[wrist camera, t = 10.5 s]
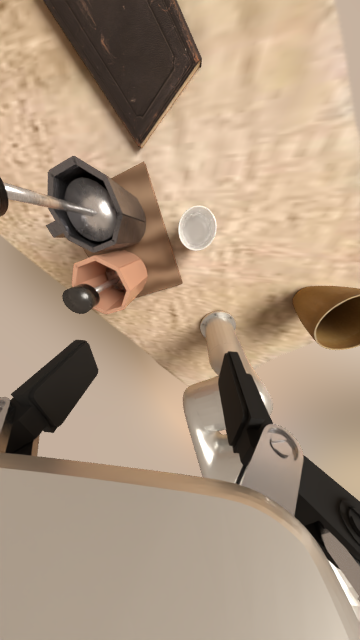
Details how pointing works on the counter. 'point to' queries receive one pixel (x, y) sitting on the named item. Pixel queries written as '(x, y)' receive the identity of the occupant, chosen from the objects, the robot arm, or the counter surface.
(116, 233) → the dark grey faceted mug
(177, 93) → the hardcover book
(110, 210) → the charcoal plunger
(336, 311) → the plant pot
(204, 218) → the white cup
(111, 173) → the counter surface
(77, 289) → the black knob metal plunger
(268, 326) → the counter surface
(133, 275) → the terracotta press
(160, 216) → the walnut board
